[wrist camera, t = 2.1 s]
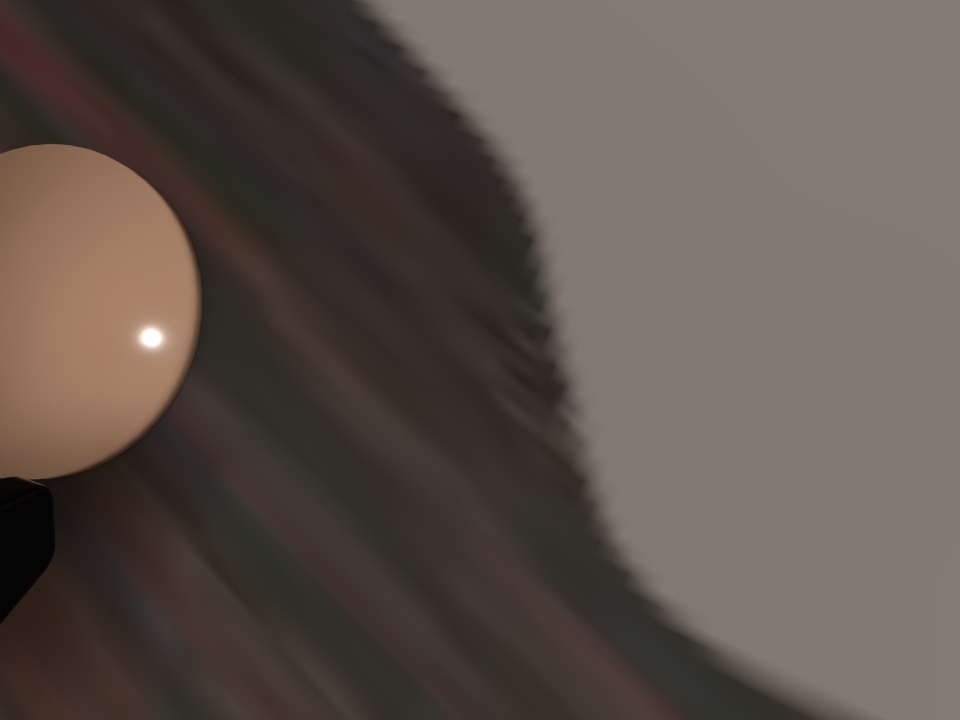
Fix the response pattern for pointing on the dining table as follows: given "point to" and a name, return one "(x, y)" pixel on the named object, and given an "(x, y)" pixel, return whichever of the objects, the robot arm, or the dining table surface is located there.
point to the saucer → (88, 309)
